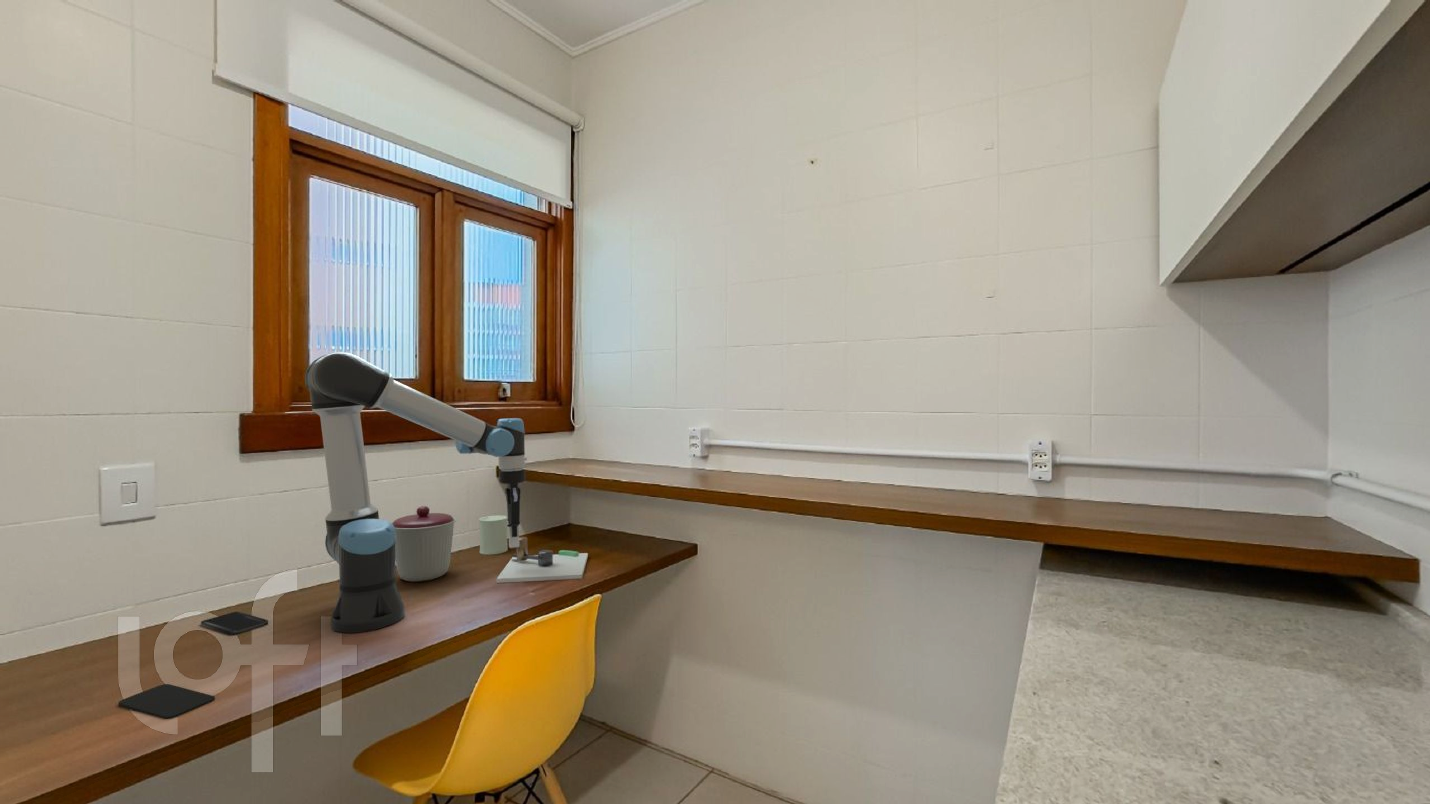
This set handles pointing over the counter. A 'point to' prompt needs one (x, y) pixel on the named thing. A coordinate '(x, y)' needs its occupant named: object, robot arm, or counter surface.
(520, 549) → the lever
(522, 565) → the dial plate
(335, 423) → the robot arm
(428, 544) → the canister
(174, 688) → the phone
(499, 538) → the can
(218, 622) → the phone
